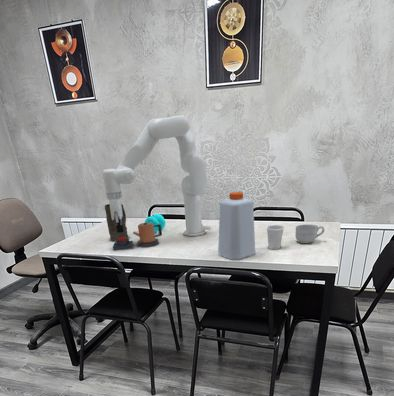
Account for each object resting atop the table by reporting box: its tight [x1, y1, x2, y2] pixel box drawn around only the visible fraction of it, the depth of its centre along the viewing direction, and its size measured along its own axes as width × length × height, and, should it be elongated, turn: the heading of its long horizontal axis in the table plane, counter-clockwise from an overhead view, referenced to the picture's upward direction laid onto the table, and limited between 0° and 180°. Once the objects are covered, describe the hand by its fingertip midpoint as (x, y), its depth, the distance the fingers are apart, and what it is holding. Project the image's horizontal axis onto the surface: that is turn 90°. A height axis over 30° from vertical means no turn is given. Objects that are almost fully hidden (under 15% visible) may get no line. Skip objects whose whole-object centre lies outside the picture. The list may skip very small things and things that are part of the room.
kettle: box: [132, 222, 163, 243], centre depth 187 cm, size 17×8×10 cm, turn 126°
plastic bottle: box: [217, 191, 256, 261], centre depth 159 cm, size 15×15×28 cm
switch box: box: [112, 238, 134, 251], centre depth 187 cm, size 10×8×4 cm
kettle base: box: [137, 237, 160, 248], centre depth 190 cm, size 12×12×2 cm
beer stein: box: [104, 203, 129, 242], centre depth 201 cm, size 15×11×20 cm
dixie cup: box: [266, 224, 285, 250], centre depth 169 cm, size 8×8×10 cm
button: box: [118, 237, 126, 242], centre depth 186 cm, size 4×4×2 cm
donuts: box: [144, 213, 166, 234], centre depth 210 cm, size 10×10×10 cm
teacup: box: [295, 223, 325, 244], centre depth 174 cm, size 14×11×8 cm
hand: (120, 231), depth 184 cm, fingers closed
